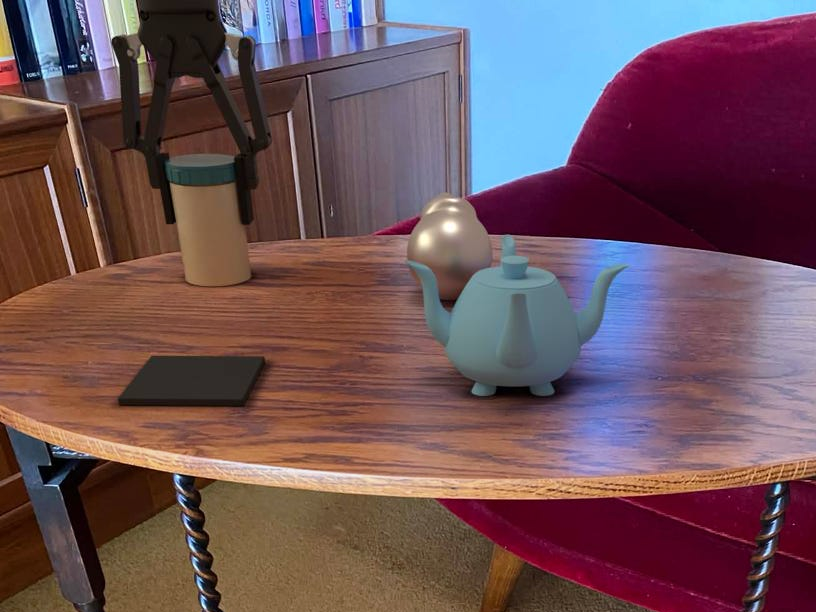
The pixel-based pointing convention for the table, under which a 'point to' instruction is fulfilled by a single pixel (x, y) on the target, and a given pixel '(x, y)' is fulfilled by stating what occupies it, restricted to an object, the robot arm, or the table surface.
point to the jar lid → (200, 169)
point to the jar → (211, 233)
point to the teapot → (513, 323)
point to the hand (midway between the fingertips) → (210, 221)
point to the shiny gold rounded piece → (449, 244)
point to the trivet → (194, 381)
